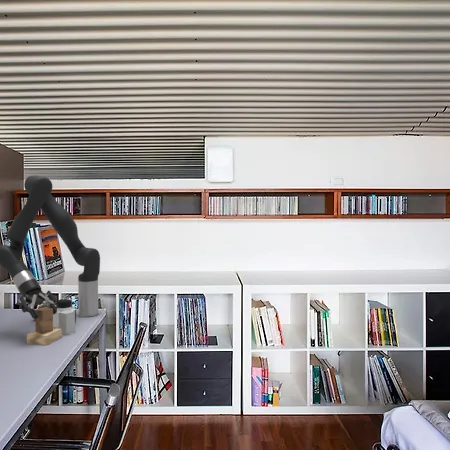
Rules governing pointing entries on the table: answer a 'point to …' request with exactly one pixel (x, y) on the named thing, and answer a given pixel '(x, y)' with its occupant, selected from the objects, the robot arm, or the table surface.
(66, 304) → the medicine bottle
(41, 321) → the walnut block
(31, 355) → the table surface
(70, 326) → the grey block
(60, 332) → the oak base block
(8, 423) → the table surface
